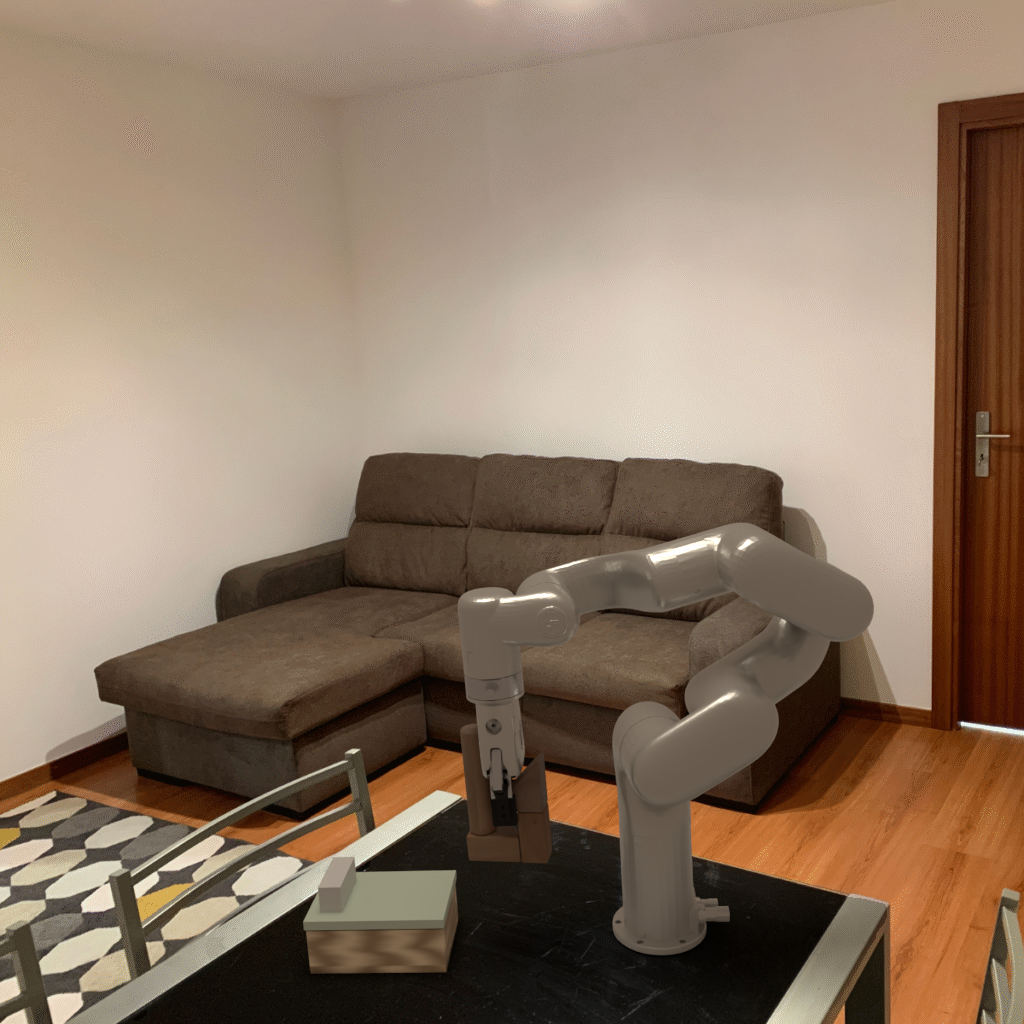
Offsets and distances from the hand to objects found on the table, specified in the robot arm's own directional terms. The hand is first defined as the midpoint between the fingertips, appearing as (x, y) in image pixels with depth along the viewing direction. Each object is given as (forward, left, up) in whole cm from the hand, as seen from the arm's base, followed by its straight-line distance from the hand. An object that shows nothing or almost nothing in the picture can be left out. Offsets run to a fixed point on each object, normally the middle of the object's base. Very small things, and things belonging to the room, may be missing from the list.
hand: (506, 815), depth 134 cm
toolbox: (+18, 0, -18) cm, 26 cm away
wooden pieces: (0, 0, -6) cm, 6 cm away
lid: (+18, 0, -12) cm, 21 cm away
